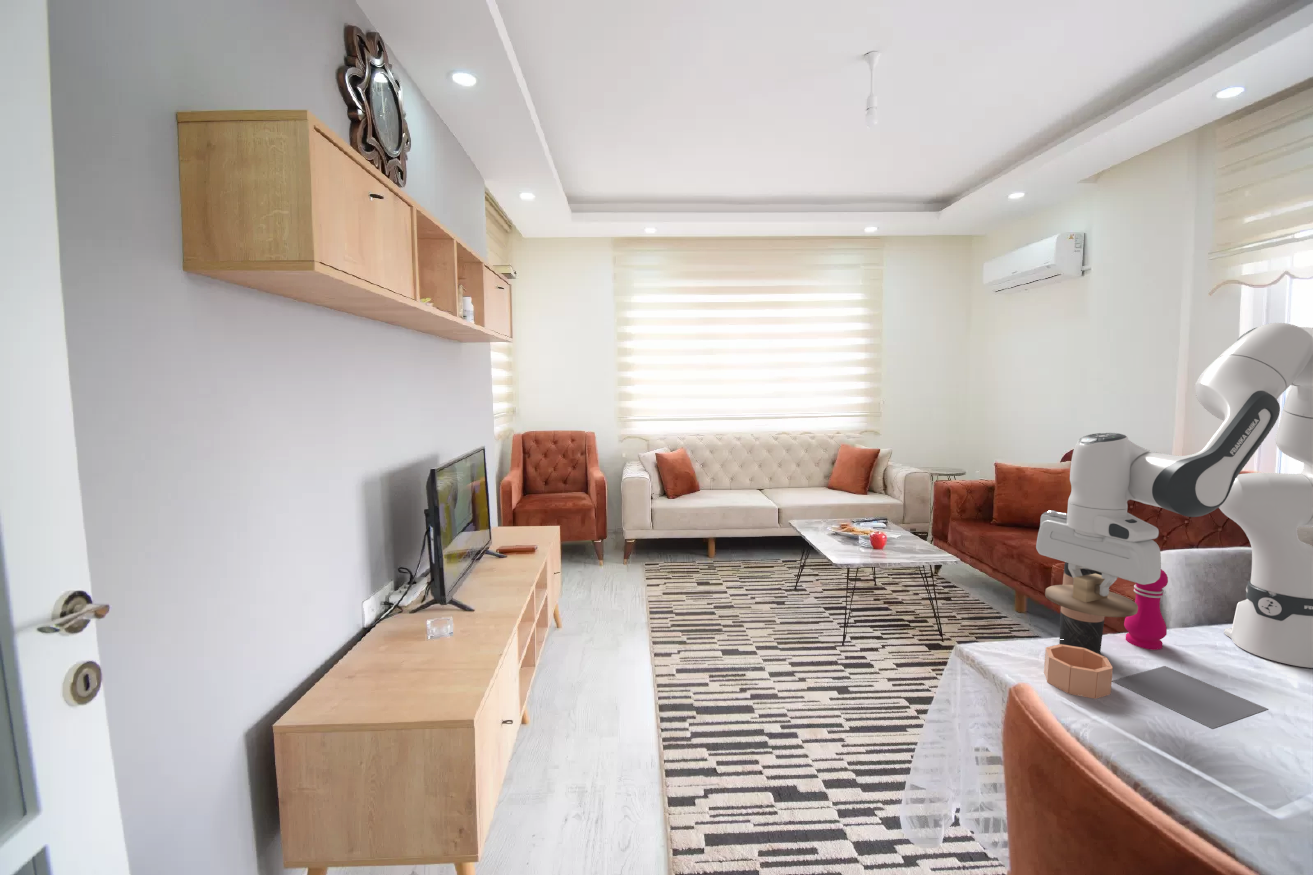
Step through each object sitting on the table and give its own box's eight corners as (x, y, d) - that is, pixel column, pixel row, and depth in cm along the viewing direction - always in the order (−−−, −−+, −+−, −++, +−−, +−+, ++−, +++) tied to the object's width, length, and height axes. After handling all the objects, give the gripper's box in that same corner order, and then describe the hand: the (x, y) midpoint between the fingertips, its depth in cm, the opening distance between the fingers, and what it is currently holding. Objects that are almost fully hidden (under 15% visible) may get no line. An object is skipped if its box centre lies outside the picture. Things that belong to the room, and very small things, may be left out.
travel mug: (1110, 661, 122) (1118, 570, 119) (1074, 661, 122) (1081, 570, 119) (1083, 643, 129) (1090, 558, 127) (1049, 644, 129) (1055, 558, 127)
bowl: (1068, 669, 119) (1070, 641, 118) (1120, 694, 109) (1123, 665, 109) (1032, 678, 115) (1034, 650, 115) (1084, 705, 106) (1086, 675, 105)
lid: (1077, 584, 118) (1078, 562, 117) (1155, 610, 105) (1157, 584, 104) (1028, 594, 113) (1029, 570, 113) (1104, 622, 100) (1106, 595, 100)
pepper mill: (1173, 655, 124) (1182, 565, 121) (1134, 652, 125) (1142, 564, 123) (1151, 639, 131) (1159, 554, 128) (1115, 637, 132) (1122, 553, 130)
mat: (1164, 669, 118) (1164, 665, 118) (1267, 713, 103) (1268, 708, 103) (1111, 684, 113) (1111, 680, 113) (1211, 733, 98) (1212, 728, 98)
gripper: (1030, 509, 116) (1026, 575, 117) (1146, 535, 97) (1139, 614, 98) (1052, 506, 118) (1048, 572, 120) (1170, 531, 99) (1163, 608, 101)
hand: (1090, 591), depth 109 cm, fingers closed on lid, 2 cm apart
